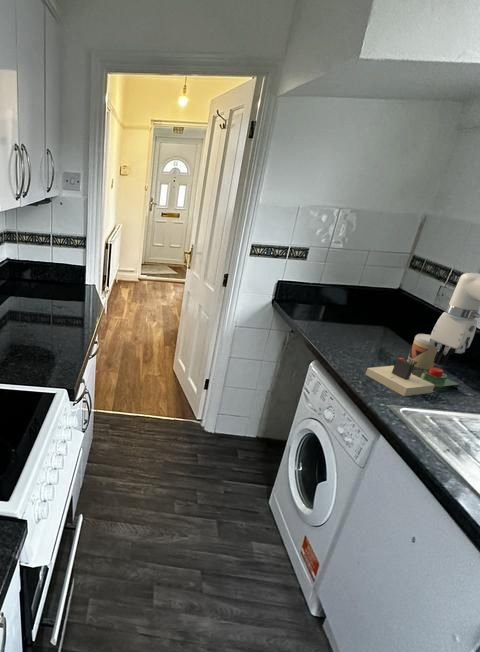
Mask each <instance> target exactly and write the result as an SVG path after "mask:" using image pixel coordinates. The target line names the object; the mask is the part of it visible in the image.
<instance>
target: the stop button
mask: <svg viewBox="0 0 480 652" xmlns="http://www.w3.org/2000/svg"><path fill="white" fill-rule="evenodd" d="M429 373H430V374H433V375H436V376H442V374H443V373H444V369H441V368H439V367H435V366H434V367H431V368H430V370H429Z"/></svg>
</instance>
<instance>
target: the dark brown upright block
mask: <svg viewBox="0 0 480 652" xmlns="http://www.w3.org/2000/svg"><path fill="white" fill-rule="evenodd" d="M414 365H415V364H413V363H411V362H408V361H407V360H406V359H405V358H403V357H397V358H396V361H395V363H394V365H393V366H394V368H393V371H392V373H393V374H395V375H397V376H399V377H401V378H403V379H405V380H406V379H409V378H410V375H411V373H412V371H413V370H414V369H415V367H414ZM413 368H414V369H413Z"/></svg>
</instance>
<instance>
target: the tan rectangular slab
mask: <svg viewBox="0 0 480 652" xmlns="http://www.w3.org/2000/svg"><path fill="white" fill-rule="evenodd" d="M393 368H394V365H386V366H385V365H384V366H375V367H367V369H366V372H365V374H364V375H365V376H367V377H369V378H370V379H372V380H374V381H376V382H377V383H379V384H381V385H383V386H385V387H386V388H388V389H390V390H392V391H393V392H395V393H396V394H399V395H401V396H402V397H410V396H419V395H426V394H432V393H433V392H434V390H433V388H434V386H435V385H434V384H432V383H430V382H427V381H425V380H423V379H421V378H419V377H417V376H415V375H413V374H411V375H410V378H409V379H406V380H405V379H403V378H401V377H399V376H397V375H395V374H393V373H392V371H393Z"/></svg>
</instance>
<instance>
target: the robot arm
mask: <svg viewBox="0 0 480 652" xmlns="http://www.w3.org/2000/svg"><path fill="white" fill-rule="evenodd" d="M479 310H480V273H477V272H476V273H475V272H464V273H463V274H461V275H460V277H459V279H458V281H457V283H456V286H455V289H454V291H453V293H452V296H451V298H450V300H449V302H448V305H447V307H446V310H445V311H444V312H442V314H441V315H440V316H439V318H438V319H437V321H436V323H435V324H434V327H433V329H432V331H431V333H430V335H431V339H430V340H429V341H430V342H431V343H433V344H434V345H435V347H436V351H437V353H436V356H435V358H434V362H433V363H435V365H438V366H440V365H441V366H442V365H445V364H446V363H447V362H448V359H449V357H450V355H452V354H465V352H466V349H469V348H470V346H471V344H472V342H473V339H474V337H475V334H476V330H477V324H478V320H477V319H480V313H479Z"/></svg>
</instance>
